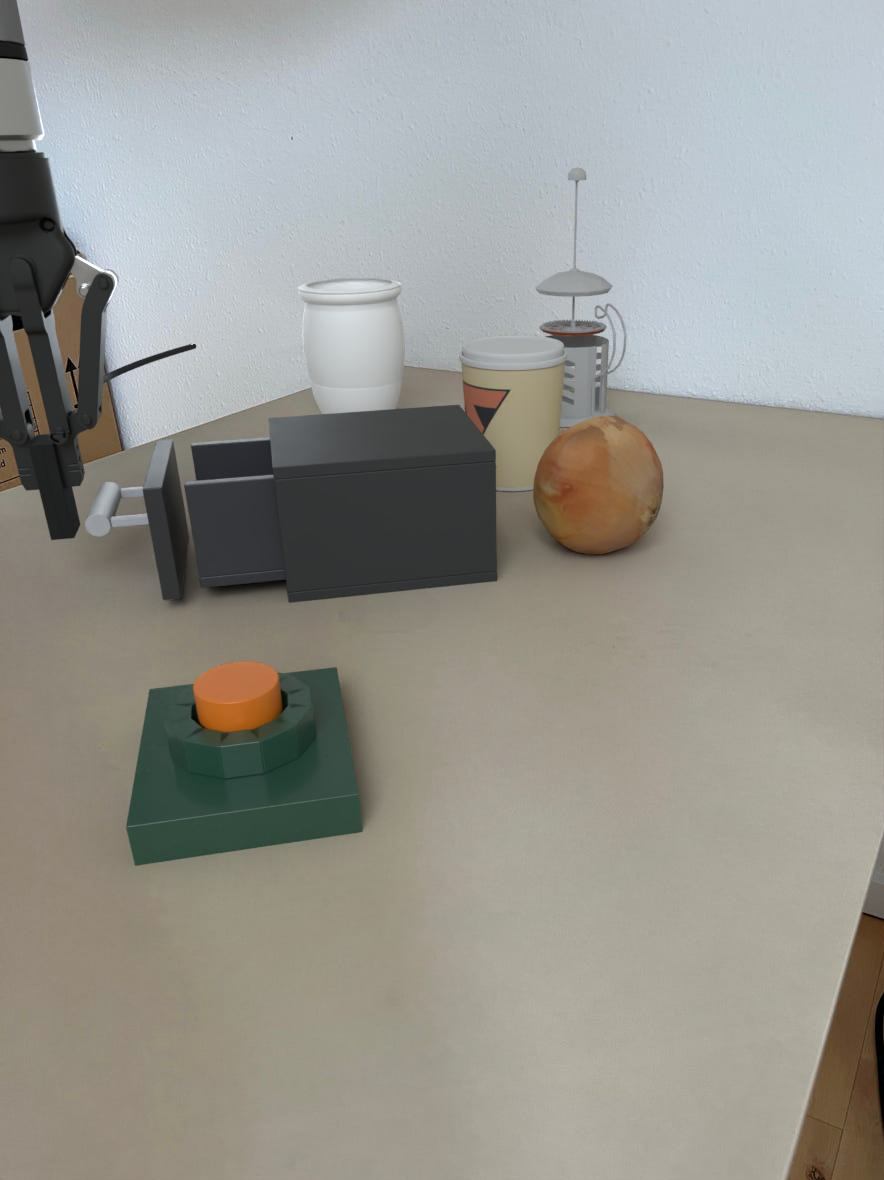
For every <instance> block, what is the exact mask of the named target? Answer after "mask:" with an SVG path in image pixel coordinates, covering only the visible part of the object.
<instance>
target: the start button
mask: <svg viewBox="0 0 884 1180" xmlns="http://www.w3.org/2000/svg"><path fill="white" fill-rule="evenodd" d="M277 672H278V671H277V670H276V669H275V668H274V667H273V666H271V665H269V664H266V663H264V662H260V661H254V660H253V661H251V660H242V661H232V662H227V663H223V664H219V665H217V666H214V667H212V668H210V669H208V670H206V671H204V672H203V673H201V674H200V675H199V676H198V677H197V678H196V679H195V680H194V683H193V684H194V685H193V692H194V698H195V703H196V709H197V714H198V719H199V722H200V724H201V725H202V726H203V727H204V728H206V729H210V730H216V731H222V732H232V731H240V730H248V729H254V728H256V727H259V726H261V725H263V724H266V723H268V722H270V721H273V720H275V719H276V718H277V717H278V716H279V715H280V714H281V711H282V707H283V705H282V697H281V690H280V682H279V675H278V673H279V672H278V673H277Z"/></svg>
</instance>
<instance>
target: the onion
mask: <svg viewBox="0 0 884 1180" xmlns="http://www.w3.org/2000/svg"><path fill="white" fill-rule="evenodd" d="M664 483H665V482H664V469H663V465H662V462H661V460H660V457H659V455H658V453H657V451H656V449H655V447H654V445H653V443H652V442H651V440H650V438H648V436H647V435H646V433H644V432H643V430H641V429H640V428H639V427H637V426H635V425H634V424H632V423H630V422H628V421H626V419H624V418H621V417H620V416H617V415H615V416H598V417H593V418H590V419H588V420H585V421H582V422H580V423H577V424H575V425H573V426H571V427H567V428H566V429H565V430H563V432H561V433H559V435H558V436H557V437H556V438H555V439H554V440H553V441H552V442H551V443H550V444H549V446H548V447H547V448H546V450H545V451H544V453H543V455H542V457H541V459H540V461H539V463H538V466H537V470H536V473H535V477H534V488H533V490H532V491H533V492H532V493H533V494H532V496H533V504H534V508H535V512H536V515H537V517H538V519H539V520H540V522H541V523H542V525H543V527H544V528H545V530H547V532H548V533H549V534H550V535H551V536H552V537H553V538H554V539H555V540H557V542H559V543H560V544H561V545H563V547H565V548H568V549H569V550H571V551H572V552H575V553H580V554H585V555H586V556H587V555H590V556H591V555H604V554H608V553H612V552H615V551H618V550H622V549H623V548H624V549H625V548H627V547H628V546H631V545H633V544H634V543H635V542H637V541H638V540H640V539H641V538H642V537H643V536H644V535H645V534H646V533H647V532H648V530H649V529H650V528H651V527H652V526H653V525H654V523H655V522H656V520H657V518H658V515H659V512H660V510H661V507H662V506H661V505H662V502H663V497H664Z"/></svg>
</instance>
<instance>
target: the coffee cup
mask: <svg viewBox="0 0 884 1180" xmlns="http://www.w3.org/2000/svg"><path fill="white" fill-rule="evenodd" d="M458 355H459V356H458V357H459V361H460V363H461V377H462V391H463V403H464V404H463V405H464V411H465V413H466V414H467V415H468V416H469V418H470V419H471V420H472V421H473V423H474V424H475V425H476V426H477V428H478V429H479V430H480V431H481V433H482V434H483V435H484V436H485V437H486V439H487V440H488V441H489V442H490V444H491V445H492V446H493V447H494V449H495V450H496V461H495V462H496V491H499V492H525V491H533V488H534V477H535V473H536V470H537V466H538V463H539V461H540V459H541V457H542V455H543V453H544V451H545V450H546V448H547V447H548V446H549V444H550V443H551V442H552V441H553V440H554V439H555V438H556V437H557V436H558V435H560V429H561V427H560V419H561V408H562V397H563V390H564V388H563V384H564V378H565V377H564V370H565V361H566V360H567V351H566V350H564V344H563V343H562V342H561V341H559V340H556V339H553V338H548V337H545V336H540V335H530V334H529V335H528V334H503V335H492V336H483V337H479V338H474V339H470V340H467V341H465V342H464V343H463V344H462V346H461V350H460V351H459V354H458Z"/></svg>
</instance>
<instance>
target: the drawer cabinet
mask: <svg viewBox="0 0 884 1180" xmlns="http://www.w3.org/2000/svg"><path fill="white" fill-rule="evenodd" d="M267 420H268V430H269V437H270V443H271V455H272V466H273V475H274V483H275V492H276V500H277V508H278V517H279V525H280V533H281V542H282V550H283V558H284V567H285V575H286V580H285V583H286V591H287V600H288V603H289V604H292V603H301V602H310V601H321V600H329V599H330V600H331V599H339V598H349V597H360V596H368V595H377V594H379V595H380V594H387V593H399V592H406V591H416V590H417V591H418V590H426V589H434V588H435V589H436V588H446V587H455V586H465V585H474V584H483V583H492V582H493V583H494V582H497V581H498V571H497V570H498V557H497V556H498V555H497V553H498V550H497V549H498V548H497V546H498V545H497V544H498V543H497V542H498V541H497V490H496V462H495V461H496V450H495V449H494V447H493V446H492V445H491V444H490V442H489V441H488V440H487V439H486V437H485V436H484V435H483V434H482V433H481V431H480V430H479V429H478V428H477V426H476V425H475V424H474V423H473V421H472V420H471V419H470V418H469V416H468V415H467V414H466V413H465V409H463V408H462V407H461V404H449V405H448V404H447V405H434V406H433V405H432V406H420V407H418V406H417V407H406V408H396V409H390V410H375V411H361V412H347V413H333V414H322V413H319V414H306V415H290V416H279V417H269V418H268V419H267Z"/></svg>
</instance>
